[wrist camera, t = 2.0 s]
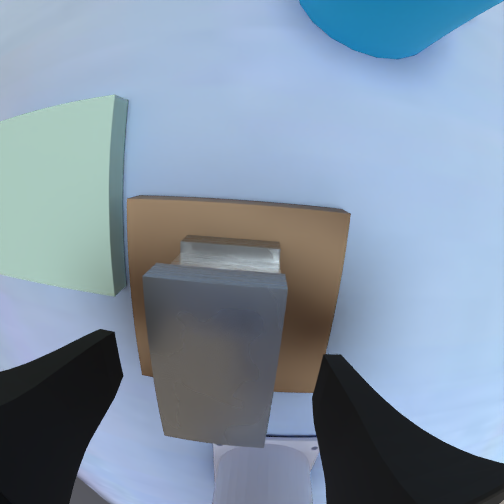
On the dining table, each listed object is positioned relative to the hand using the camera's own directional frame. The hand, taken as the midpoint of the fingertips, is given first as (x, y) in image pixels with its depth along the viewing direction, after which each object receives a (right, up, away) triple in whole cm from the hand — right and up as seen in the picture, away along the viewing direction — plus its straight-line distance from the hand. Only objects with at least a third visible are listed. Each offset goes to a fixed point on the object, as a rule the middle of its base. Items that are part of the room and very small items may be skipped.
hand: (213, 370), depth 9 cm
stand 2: (0, +2, +6) cm, 6 cm away
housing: (0, +1, +4) cm, 5 cm away
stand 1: (-10, +7, +5) cm, 14 cm away
